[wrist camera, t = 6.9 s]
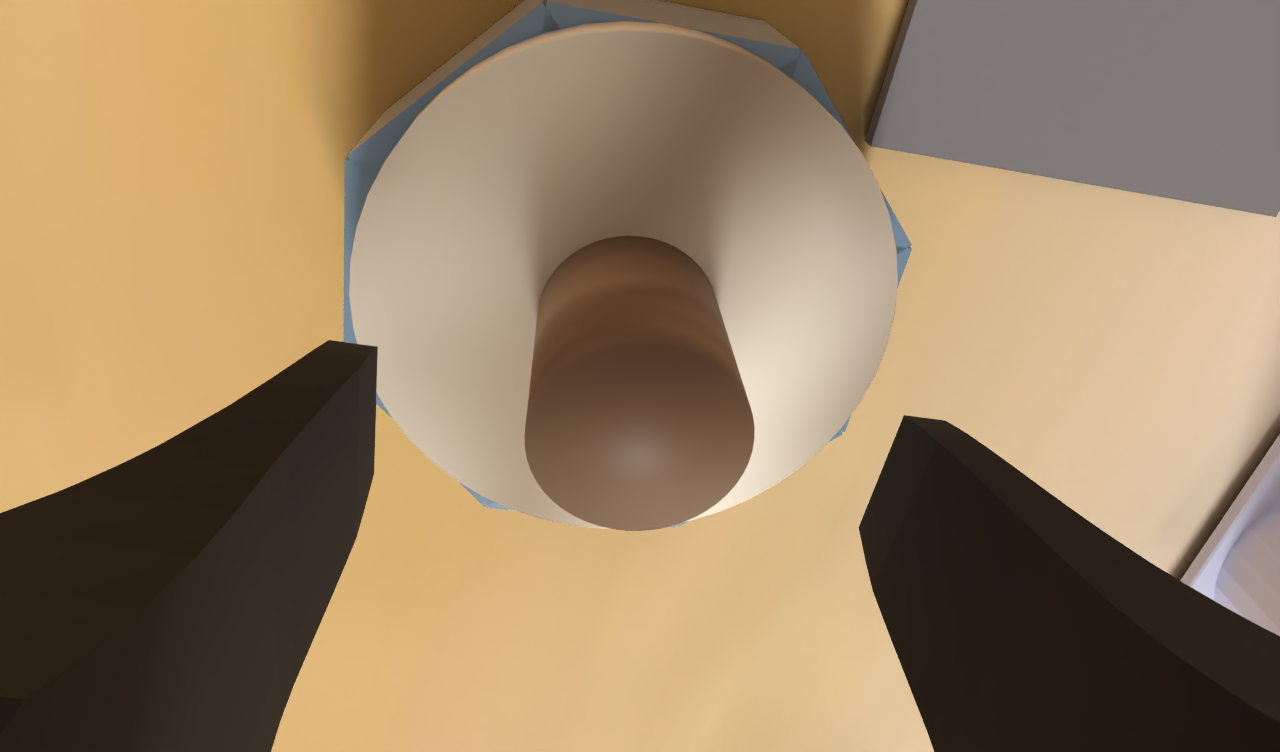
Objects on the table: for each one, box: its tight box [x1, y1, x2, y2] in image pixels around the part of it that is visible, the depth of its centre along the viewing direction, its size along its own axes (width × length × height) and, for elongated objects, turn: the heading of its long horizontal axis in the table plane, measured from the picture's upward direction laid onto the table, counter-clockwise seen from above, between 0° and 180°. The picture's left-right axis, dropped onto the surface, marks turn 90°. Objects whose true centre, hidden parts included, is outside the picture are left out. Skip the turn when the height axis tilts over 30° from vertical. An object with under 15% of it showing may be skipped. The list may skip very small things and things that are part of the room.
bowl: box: [344, 0, 911, 527], centre depth 16 cm, size 10×10×3 cm
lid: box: [349, 21, 898, 531], centre depth 13 cm, size 9×9×4 cm
